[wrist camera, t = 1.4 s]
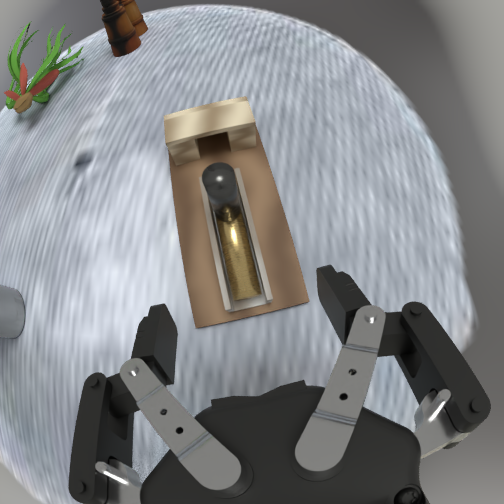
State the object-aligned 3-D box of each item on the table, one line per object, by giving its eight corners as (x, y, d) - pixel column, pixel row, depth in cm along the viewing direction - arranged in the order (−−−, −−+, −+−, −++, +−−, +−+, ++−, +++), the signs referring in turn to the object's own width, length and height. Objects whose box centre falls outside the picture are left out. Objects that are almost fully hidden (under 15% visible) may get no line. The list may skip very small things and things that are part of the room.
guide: (197, 328, 32) (183, 328, 26) (169, 142, 40) (157, 115, 34) (308, 302, 33) (319, 296, 27) (253, 122, 41) (252, 93, 34)
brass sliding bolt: (234, 301, 31) (222, 289, 21) (209, 183, 36) (192, 132, 25) (261, 295, 31) (262, 280, 21) (232, 177, 36) (223, 125, 25)
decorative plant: (27, 151, 50) (38, 92, 56) (90, 91, 47) (92, 44, 53) (-39, 115, 25) (-8, 58, 31) (23, 32, 21) (49, -1, 28)
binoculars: (137, 51, 50) (115, -8, 31) (110, 60, 50) (84, 6, 31) (150, 24, 55) (135, -25, 35) (125, 31, 55) (108, -15, 35)
